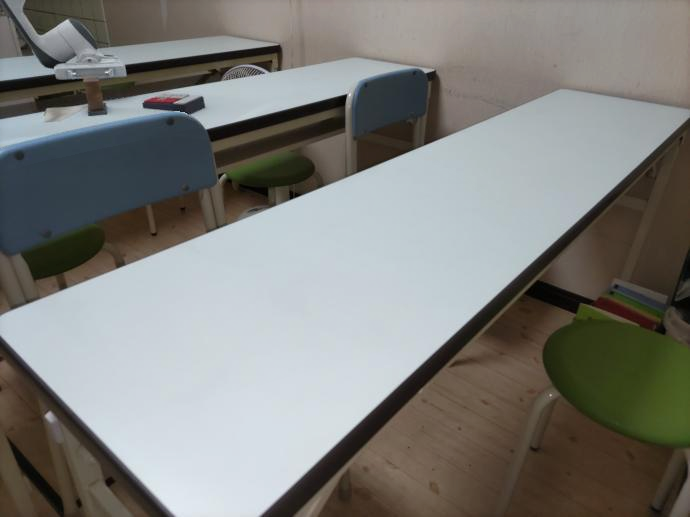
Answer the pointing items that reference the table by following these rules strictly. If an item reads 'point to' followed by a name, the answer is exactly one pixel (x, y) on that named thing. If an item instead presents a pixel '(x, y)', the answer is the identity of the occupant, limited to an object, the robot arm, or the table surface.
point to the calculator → (176, 103)
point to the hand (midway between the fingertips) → (91, 75)
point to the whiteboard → (61, 113)
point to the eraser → (94, 96)
